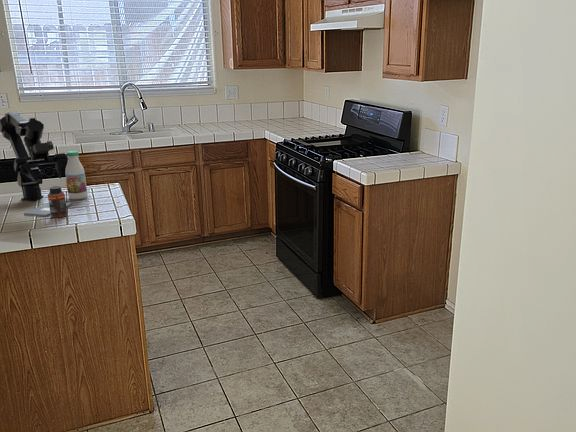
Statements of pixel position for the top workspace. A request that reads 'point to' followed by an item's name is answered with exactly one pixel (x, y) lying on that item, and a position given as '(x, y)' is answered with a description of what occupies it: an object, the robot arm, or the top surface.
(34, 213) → the label panel
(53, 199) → the supplement bottle
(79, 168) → the milk bottle
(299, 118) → the top surface
